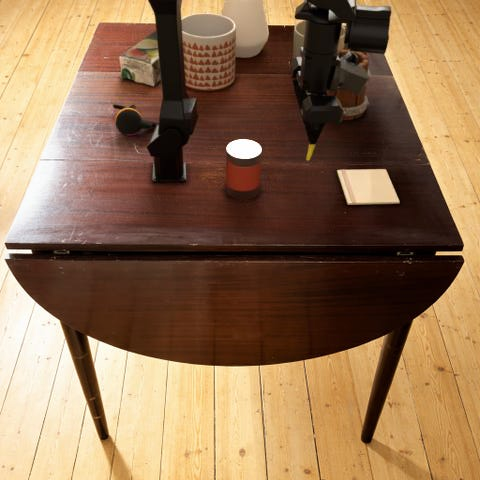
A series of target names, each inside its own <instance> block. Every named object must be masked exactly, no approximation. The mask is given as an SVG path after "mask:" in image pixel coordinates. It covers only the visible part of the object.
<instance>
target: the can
mask: <svg viewBox="0 0 480 480" xmlns="http://www.w3.org/2000/svg"><path fill="white" fill-rule="evenodd" d="M225 149H226V153H225V154H226V155H225V193H226V194H227V196H229V197H231V198H232V199H235V200H239V201H247V200H251V199H254V198H255V197H257V196H258V195H259V192H260V184H261V171H262V146H261V145H260V144H259V143H258V142H256V141H254V140H250V139H236V140H233V141H231V142H229V143H228V144H227V146H226V148H225Z"/></svg>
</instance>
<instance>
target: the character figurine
mask: <svg viewBox="0 0 480 480" xmlns="http://www.w3.org/2000/svg"><path fill="white" fill-rule="evenodd" d="M112 107H113V109H116V110H119V111H118V112H117V114H115V119H114V122H115V126H116V129H117V130H118V132H119V133H120V134H122V135H124V136H128V137H132V136H136V135H137V134H139V133H140V132H141V130H142V129H143V130H150V129H152V128H153V129H155V127H156V125H157V123H158V122H156V121H153V120H146V119H143V117H142V114H141V113H140V112H139V111H138V110H137V106H136V105H135V104H131V105H130V106H129V107H127V106H124V105H121V104H116V103H115V104H113V105H112Z"/></svg>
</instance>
